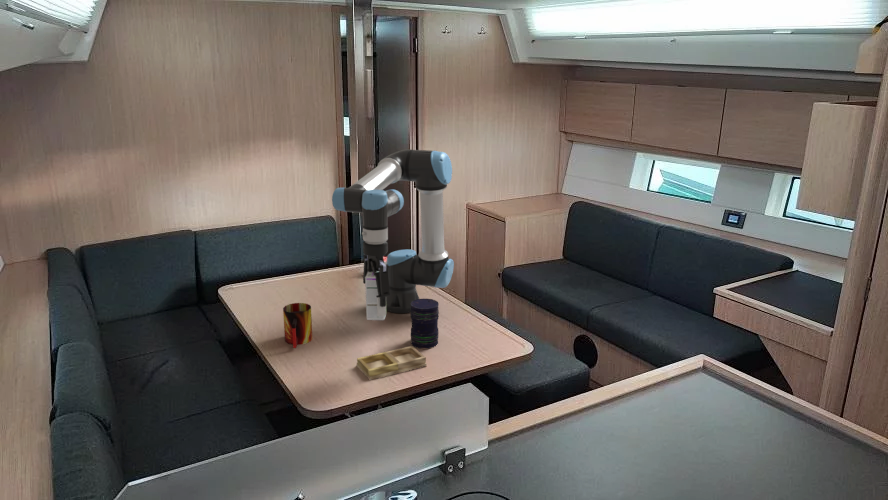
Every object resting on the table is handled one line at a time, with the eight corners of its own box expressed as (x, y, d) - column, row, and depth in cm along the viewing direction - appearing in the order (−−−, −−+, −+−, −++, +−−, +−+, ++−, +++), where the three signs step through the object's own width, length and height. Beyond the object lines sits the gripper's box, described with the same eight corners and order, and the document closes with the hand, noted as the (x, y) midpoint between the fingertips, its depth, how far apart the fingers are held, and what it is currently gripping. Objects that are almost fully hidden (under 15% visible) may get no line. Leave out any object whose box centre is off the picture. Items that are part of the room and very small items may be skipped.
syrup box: (384, 320, 201) (384, 276, 197) (365, 320, 201) (364, 275, 197) (386, 313, 206) (386, 270, 202) (368, 313, 207) (367, 270, 202)
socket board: (411, 353, 221) (411, 345, 220) (426, 366, 212) (426, 358, 211) (356, 365, 211) (356, 357, 210) (370, 380, 202) (369, 371, 201)
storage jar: (428, 351, 223) (428, 310, 218) (405, 344, 228) (404, 304, 223) (443, 341, 231) (444, 302, 227) (420, 334, 236) (421, 296, 232)
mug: (293, 351, 221) (292, 319, 218) (281, 337, 232) (279, 305, 229) (320, 345, 226) (319, 313, 222) (307, 331, 237) (305, 301, 234)
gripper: (351, 234, 204) (353, 302, 210) (377, 251, 187) (378, 324, 193) (373, 232, 207) (374, 299, 214) (401, 247, 190) (401, 320, 197)
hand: (376, 311), depth 203 cm, fingers closed on syrup box, 7 cm apart
